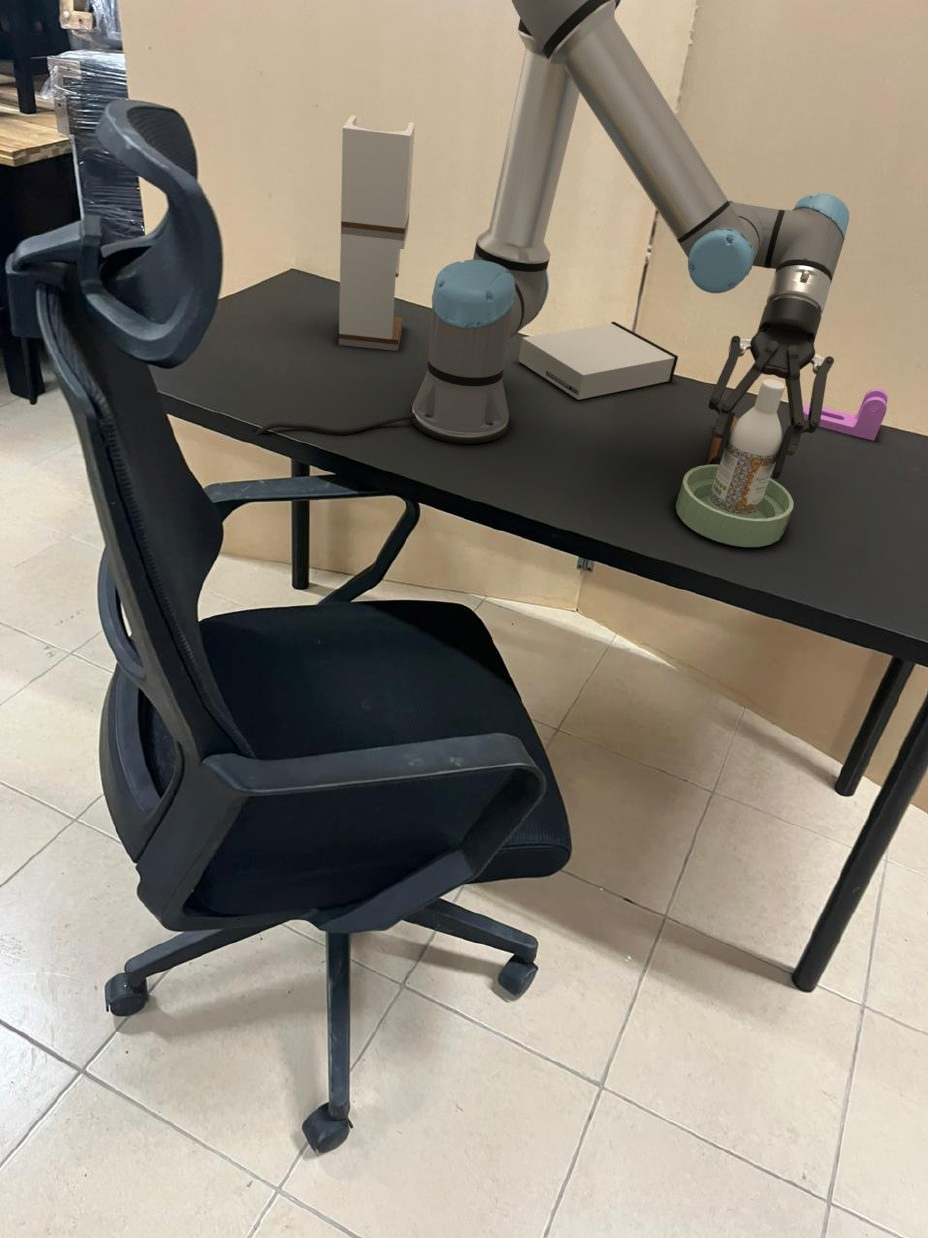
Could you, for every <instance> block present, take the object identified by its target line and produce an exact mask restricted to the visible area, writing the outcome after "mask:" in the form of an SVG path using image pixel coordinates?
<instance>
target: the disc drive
mask: <svg viewBox="0 0 928 1238" xmlns="http://www.w3.org/2000/svg"><path fill="white" fill-rule="evenodd" d="M678 360H679V355H676V354H675V353H673V352H671V351H669V350H667V349H666V348H663V347H662V346H660V345H658V344H657V343H654V342H652V341H651V340H649V339H647V338H645V337H643V336H641V335H639V334H638V333H636V332H634V331H633V330H630V329H629V328H626V327H625V326H624V325H621V324H619V323H618V322H616V321H611V322H610V323H605V324H600V325H593V326H588V327H581V328H575V329H568V330H561V331H555V332H549V333H548V332H547V333H542V334H535V335H528V336H523V337H521V342H520V349H519V355H518V362H519V363H520V364H522V365H524V366H525V367H527V368H528V369H529V370H532V371H533V372H535V373H536V374H538V375H539V376H541V377H542V378H543V379H545V380H547V381H549V382H550V383H552V384H553V385H555V386H556V387H558V388H559V389H561V390H562V391H563V392H565V393H567V394H569V395H570V396H571V397H573V398H575V399H576V400H578V401H579V400H584V399H589V398H594V397H598V396H603V395H608V394H613V393H618V392H622V391H627V390H632V389H637V388H641V387H642V388H643V387H647V386H652V385H656V384H657V385H658V384H661V383H666V382H667V383H669V384H670V383H672V382H673V379H674V375H675V372H676V368H677V363H678Z"/></svg>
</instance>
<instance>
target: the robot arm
mask: <svg viewBox="0 0 928 1238" xmlns="http://www.w3.org/2000/svg"><path fill="white" fill-rule="evenodd" d="M621 1H622V0H511V3H512V5H513V7H514V9H515V12H516V14H517V15H518V17H519V21H518V27H517V34H518V36H519V37H520V39H521V42H522V44H523V45H524V49H525V50H524V54H523V55H524V56H523V59H522V65H521V69H520V74H519V78H518V79H519V80H518V85H517V88H516V89H517V90H516V94H515V98H514V104H513V109H512V114H511V119H510V123H509V129H508V133H507V138H506V142H505V148H504V152H503V159H502V163H501V167H500V173H499V178H498V182H497V187H496V193H495V198H494V202H493V208H492V212H491V217H490V223H489V226H488V228H487V229H486V230H485V231H484V232H482V233H480V234H479V235H477V238H476V241H475V242H476V243H475V247H474V252H473V257H472V259H465V260H463V261H455V262H452V263H450V264H448V265H446V266H444V267H443V268H442V269H441V270H440V271H439V272H438V274H437V275H436V278H435V279H434V287H433V290H432V295H431V314H430V315H431V317H430V328H429V330H430V331H429V341H428V342H429V343H428V356H427V358H428V359H427V369H426V373H425V376H424V378H423V380H422V383H421V385H420V387H419V389H418V392H417V394H416V397H415V399H414V401H413V403H412V408H411V409H412V410H411V413H408V414H402V415H399V416H394V417H391V418H385V419H382V420H378V421H375V422H373V421H372V422H369V423H366V424H363V425H359V426H355V427H346V428H335V427H328V426H322V425H319V424H318V425H317V424H312V423H296V422H285V421H284V422H283V421H281V422H278V421H277V422H271V423H267V424H265V425H263V426H262V427H261V428H259V429H258V430H257V431H256V432H254V436H255V437H260V436H262V435H263V434H264V433H266V432H267V431H269V430H271V429H277V428H287V429H305V430H313V431H318V432H324V433H328V434H329V433H330V434H352V433H358V432H362V431H366V430H369V429H373V428H377V427H382V426H386V425H389V424H394V423H397V422H402V421H406V420H411V421H412V423H413V425H414V426H415V427H416V428H417V429H418V430H419V431H420V432H422V433H423V434H424V435H427V436H429V437H430V438H434V439H437V440H440V441H443V442H448V443H454V444H461V445H462V444H463V445H475V444H476V445H477V444H484V443H489V442H492V441H495V440H497V439H499V438H501V437H502V436H504V435H505V434H506V433H507V430H508V426H509V419H510V413H509V408H508V403H507V398H506V392H505V387H504V381H503V378H504V370H505V364H506V356H507V348H508V344H509V341H510V340H511V339H512V338H513V337H514V336H515V335H516V334H517V333H519V332H520V331H521V330H522V329H524V328H525V327H526V326H527V325H529V324H531V322H532V321H534V320H535V318H537V316H538V315H539V314H540V312H541V310H542V309H543V307H544V305H545V303H546V300H547V298H548V295H549V287H550V285H549V284H550V280H549V275H548V267H549V262H550V260H551V259H550V258H551V252H550V250H549V248H548V246H547V245H546V244H545V239H546V234H547V229H548V226H549V221H550V218H551V213H552V210H553V205H554V201H555V197H556V193H557V188H558V185H559V180H560V177H561V172H562V168H563V165H564V159H565V156H566V152H567V147H568V143H569V140H570V135H571V131H572V126H573V123H574V119H575V115H576V111H577V106H578V102H579V99H580V95H581V96H582V98H583V99H584V100H585V102H586V104H587V105H588V107H589V108H590V110H591V111H592V113H593V115H594V116H595V117H596V119H597V121H598V122H599V124H600V125H601V127H602V128H603V129H604V132H605V133H606V135H607V136H608V137H609V139H610V140H611V143H612V144H613V145H614V146H615V148H616V150H617V151H618V153H619V155H621V157H622V159H623V160H624V161H625V163H626V165H627V166H628V168H629V169H630V171H631V172H632V174H633V176H634V177H635V178H636V181H638V183H639V185H640V186H641V188H642V189H643V191H644V192H645V194H646V196H647V197H648V198H649V200H650V202H651V203H652V205H653V206H654V207H655V209H656V210H657V212H658V214H659V215H660V217H661V218H662V220H663V222H664V223H665V224H666V226H667V227H668V229H669V231H670V232H671V234H672V235H673V236H674V239H676V242H677V243H678V244H679V246H680V248H681V249H682V251H683V252H684V254H685V256H686V257H687V269H688V274H689V277H690V279H691V281H692V282H693V283H694V285H695V286H696V287H697V288H698V289H700V290H702V291H703V292H706V293H709V294H722V293H726V292H729V291H731V290H733V289H735V288H736V287H737V286H738V285H739V284H740V283H742V282H743V281H744V280H745V278H746V277H747V276H749V274H750V273H751V270H752V269H753V267H757V268H764V269H773V270H775V271H774V275H773V278H772V281H771V285H770V289H769V290H768V291H769V292H768V295H767V298H766V304H765V306H764V308H763V311H762V313H761V314H762V315H761V318H760V322H759V324H758V328H757V331H756V333H755V334H754V335H753V336H752V337H751V338H750V339H749V338H747V339H746V338H741V337H740V336H739V335H733V336H732V337H731V339H730V343H729V346H728V357H727V359H726V361H725V363H724V365H723V368H722V370H721V372H720V375H719V377H718V380H717V382H716V384H715V386H714V388H713V391H712V393H711V394H710V396H709V397H710V398H709V401H708V406H707V407H708V408H709V410H714V411H715V412H717V413H718V417H719V418H718V417H717V419H718V421H717V420H716V421H717V425H716V428H715V427H714V428H715V431H714V430H713V433H714V437H717V438H721V442H720V445H719V448H718V452H717V455H716V458H715V462H714V464H717V465H720V462H721V460H722V457H723V453H724V450H725V446H726V443H727V440H728V436H729V433H730V430H731V426H732V423H733V420H734V416H735V417H736V412H734V411H733V410H734V409H735V408H736V407H737V405H738V404H739V403H740V401H741V400H742V399H743V398H744V396H745V395H746V394H747V392H748V391H749V390H750V389H751V387H752V386H753V385H754V384H755V382H756V381H757V380H759V378H760V376H761V375H767V376H775V377H777V378H778V379H783V380H784V383H785V388H786V393H787V403H788V412H789V421H790V425H788V426H787V428H786V429H785V431H784V434H783V436H782V443H781V448H780V451H779V454H778V457H777V460H776V463H775V465H774V468H773V471H772V474H771V479H773V480H778V479H779V477H780V476H781V474H782V471H783V467H784V464H785V461H786V458H787V456H790V457H793V456H794V455H795V454H796V452H797V450H798V448H799V444H800V440H801V437H802V435H803V434H805V433H809V434H813V433H815V432H816V431H817V429H818V428H819V427H818V426H819V424H820V419H821V412H822V407H824V406H823V404H824V400H825V392H826V385H827V379H828V374H829V372H830V371H831V368H832V367H833V365H834V363H835V359H834V357H833V356H829V355H828V356H826V357H824V356H822V355H820V354H817V353H816V349H815V342H816V337H817V335H818V331H819V328H820V324H821V320H822V314H823V313H824V311H825V307H826V303H827V300H828V296H829V292H830V289H831V285H832V281H833V279H834V275H835V271H836V269H837V266H838V262H839V259H840V256H841V253H842V249H843V246H844V243H845V240H846V233H847V231H848V230H847V229H848V225H849V222H850V211H849V209H848V206H847V204H846V203H845V201H843V200H842V199H841V198H839V197H837V196H835V195H832V194H828V193H820V192H819V193H816V194H815V195H812V194H808V195H807V194H806V195H805V196H803V197H802V198H800V199H799V200H798V201H797V202H796V203H795V205H794V207H793V209H778V208H772V207H766V206H761V205H752V204H746V203H741V202H740V203H739V202H734V201H733V200H728V197H727V196H726V194H725V193H724V191H723V189H722V187H721V186H720V184H719V182H718V181H717V180H716V177H715V176H714V175H713V173H712V171H711V170H710V169H709V167H708V165H707V163H706V162H705V161H704V159H703V157H702V156H701V154H700V153H699V151H698V148H696V147H695V145H694V143H693V141H692V140H691V138H690V137H689V134H688V133H687V132H686V130H685V128H684V127H683V125H682V124H681V122H680V120H679V119H678V117H677V116H676V114H675V112H674V111H673V109H672V107H671V106H670V105H669V103H668V101H667V99H666V98H665V97H664V95H663V93H662V92H661V90H660V88H659V87H658V85H657V84H656V82H655V80H654V79H653V78H652V76H651V74H650V73H649V71H648V69H647V68H646V66H645V65H644V63H643V61H642V59H641V58H640V57H639V55H638V53H637V52H636V50H635V49H634V47H633V45H632V43H631V42H630V41H629V39H628V37H627V36H626V34H625V33H624V31H623V29H622V28H621V27H620V25H619V24H618V22H617V20H616V17H615V15H616V14H615V12H616V10H617V8H618V7H619V5H620V3H621ZM747 350H748V351H749V350H750V351H749V352H750V353H751V356H752V358H753V360H754V363H753V364H752V366H751V367H750V368H749V370H748V371H747V372H746V373H745V375H744V376H743V377H742V379H741V380H740V381H739V382H738V384H736V385H737V386H736V387H735V388H734V389H733V390H732V392H731V393H730V394H729V395H728V397H727V398H726V400H724V399H722V397H723V395H724V393H725V390H726V388H727V386H728V383H729V382H730V379H731V376H733V373H734V370H735V368H736V365H737V363H738V359H739V357H743V356H744V355H745V353H746V351H747ZM809 364H811V365H812V373H813V374H814V375H815V376H814V378H813V383H812V389H811V396H810V402H809V405H810V408H809V415H808V420H804V412H803V406H804V404H803V395H802V394H803V393H802V385H801V370H802V369H804V368H805V367H806V366H808V365H809Z"/></svg>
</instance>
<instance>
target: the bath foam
mask: <svg viewBox="0 0 928 1238" xmlns="http://www.w3.org/2000/svg"><path fill="white" fill-rule="evenodd" d="M785 388H786V384H784V383H783V382H781V381H779V380H776V379H770V378H767V379H764V380H762V381H761V384H760V387H759V390H758V393H757V397H756V400H755V402H754V406H753V407H751V408H750V409H749V410H748V411H747V412H745V413H744V414H743V415H742V416H740V417H739V418H738V421H737V422H736V423H735V424H734V426H733V428H732V429H731V431H730V433H729V436H728V440H727V443H726V446H725V450H724V453H723V457H722V460H721V462H720V465H719V467H718V470H717V473H716V476H715V479H714V483H713V486H712V489H711V492H710V496H709V499H708V502H707V505H708V506H710V507H712V508H714V509H716V510H719V511H721V512H724V513H727V514H731V515H735V516H739V517H745V518H752V519H755V518H756V515H757V512H758V510H759V507H760V504H761V502H762V499H763V496H764V493H765V490H766V488H767V485H768V482H769V479H770V478H772V475H773V471H774V468H775V465H776V461H777V458H778V454H779V451H780V448H781V444H782V440H783V429H782V426H781V422H780V420H779V416H778V409H779V407H780V403H781V402H782V401H781V400H782V398H783V395H784V392H785Z"/></svg>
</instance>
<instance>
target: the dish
mask: <svg viewBox="0 0 928 1238" xmlns="http://www.w3.org/2000/svg"><path fill="white" fill-rule="evenodd" d="M718 467H719V465H707V464H704V465H699V466H695V467H693V468H691V469H690V470H688V471H687V472H686V473H685V474H684V476H683V479H682V483H681V485H680V490H679V493H678V496H677V501H676V502H675V503H676V504H675V510H676V514H677V515H678V517H679V519H680V520H681V521H682V523H683V524H685V525H686V526H687V527H688V528H689V529H690V530H692V531H694V532H696V534H699V535H700V536H703V537H704V538H708V539H710V540H712V541H715V542H718V543H722V544H725V545H728V546H734V547H740V548H741V547H742V548H762V547H765V546H769V545H770V546H771V545H773V544H774V543H776V542H778V541H779V540H780V539H781V538H782V536H783V535H784V533H785V530H786V528H787V526H788V523H789V520H790V518H791V516H792V512H793V510H794V504H795V502H794V499H793V497H792V495H791V494H790V493H789V491H788V490H787V489H786V488H785V487H784V486H783V485H782V484H780V483H779V482H777V481H776V480H775V479H773V478H772V477H770V479H769V482H768V485H767V488H766V490H765V493H764V496H763V499H762V502H761V504H760V507H759V510H758V512H757V515H756V518H755V519H752V518H745V517H739V516H735V515H731V514H727V513H724V512H721V511H719V510H716V509H714V508H712V507H710V506H708V505H707V502H708V499H709V496H710V492H711V489H712V486H713V483H714V479H715V476H716V473H717V470H718Z"/></svg>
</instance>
